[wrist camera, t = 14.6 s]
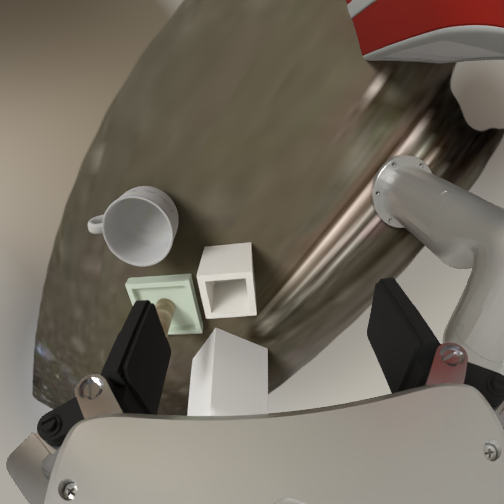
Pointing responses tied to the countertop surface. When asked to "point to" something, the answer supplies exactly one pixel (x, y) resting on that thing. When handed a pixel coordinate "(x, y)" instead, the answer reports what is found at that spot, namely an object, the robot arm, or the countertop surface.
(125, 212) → the teacup
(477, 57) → the red and white block
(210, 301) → the open box
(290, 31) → the countertop surface
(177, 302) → the tray
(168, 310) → the dowel
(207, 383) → the milk
